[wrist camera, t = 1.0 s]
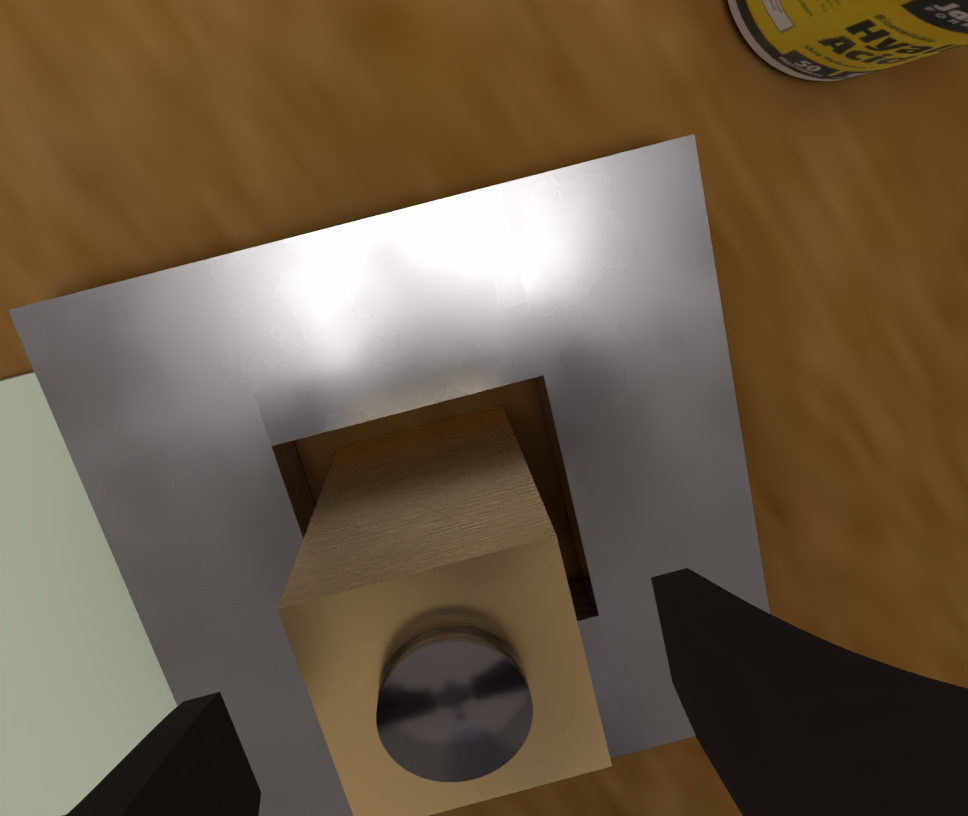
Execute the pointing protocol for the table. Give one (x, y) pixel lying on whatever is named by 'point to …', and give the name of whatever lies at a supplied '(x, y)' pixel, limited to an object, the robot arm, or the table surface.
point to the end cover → (440, 623)
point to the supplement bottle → (848, 33)
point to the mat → (62, 625)
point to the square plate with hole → (401, 387)
